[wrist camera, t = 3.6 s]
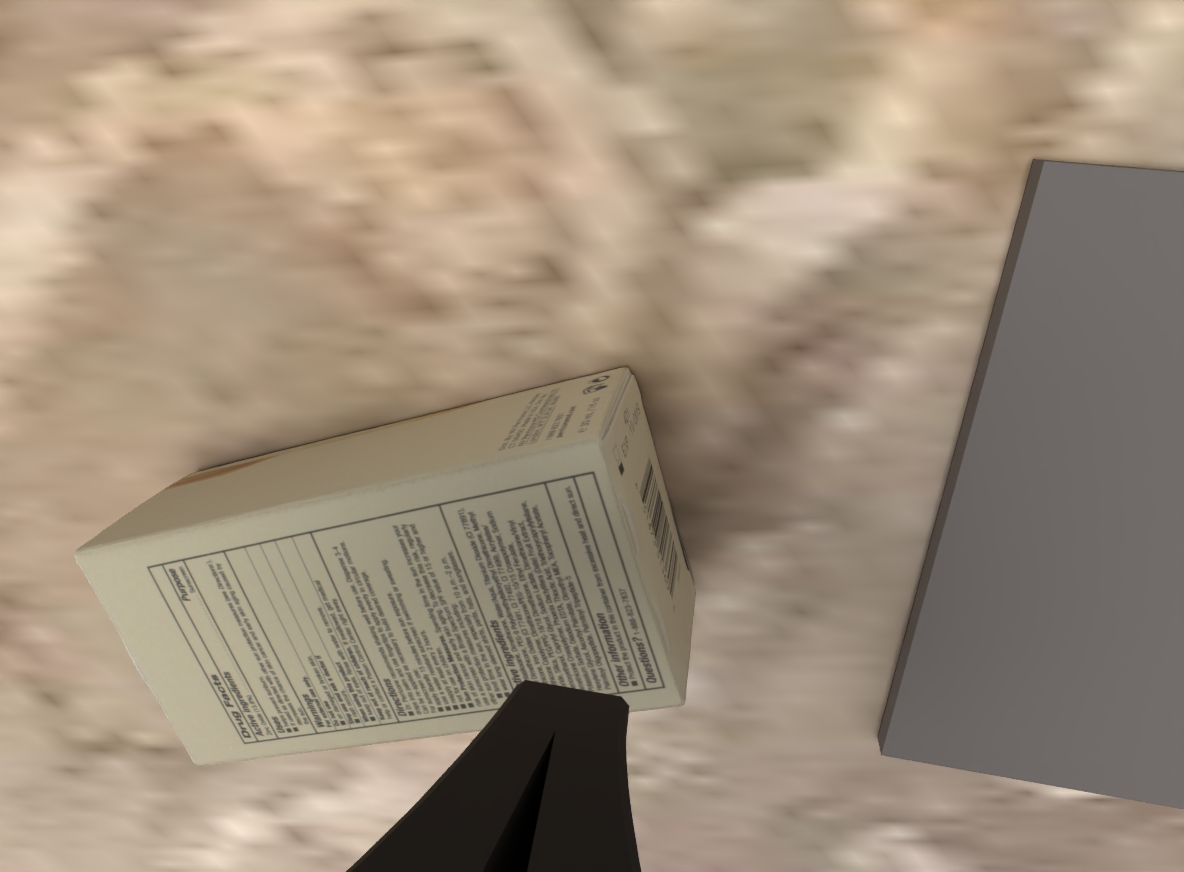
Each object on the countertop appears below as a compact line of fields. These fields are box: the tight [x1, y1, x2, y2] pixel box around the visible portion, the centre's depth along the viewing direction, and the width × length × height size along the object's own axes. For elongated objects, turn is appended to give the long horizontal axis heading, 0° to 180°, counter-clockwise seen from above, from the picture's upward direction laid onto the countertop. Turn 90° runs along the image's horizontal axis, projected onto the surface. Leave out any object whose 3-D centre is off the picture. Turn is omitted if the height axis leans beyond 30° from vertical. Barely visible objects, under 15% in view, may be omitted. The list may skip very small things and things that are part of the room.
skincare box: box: [74, 367, 696, 766], centre depth 19 cm, size 6×4×12 cm
